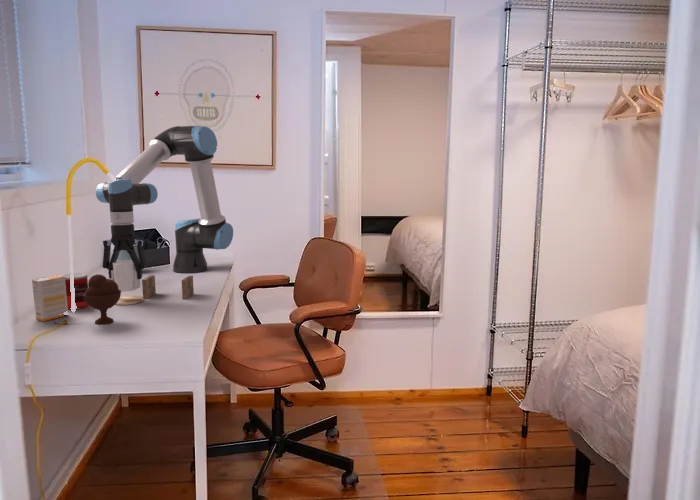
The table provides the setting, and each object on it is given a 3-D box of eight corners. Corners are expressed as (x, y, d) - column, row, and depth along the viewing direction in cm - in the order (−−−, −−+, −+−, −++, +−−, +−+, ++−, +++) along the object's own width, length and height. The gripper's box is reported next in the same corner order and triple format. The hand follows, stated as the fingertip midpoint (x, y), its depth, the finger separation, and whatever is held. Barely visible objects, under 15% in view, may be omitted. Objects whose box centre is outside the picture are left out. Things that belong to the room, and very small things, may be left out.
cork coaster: (119, 297, 201) (119, 295, 201) (148, 297, 201) (148, 296, 201) (104, 305, 190) (104, 303, 190) (135, 305, 190) (135, 303, 190)
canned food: (71, 303, 192) (68, 272, 190) (93, 304, 192) (91, 273, 190) (59, 309, 185) (56, 277, 183) (82, 309, 184) (80, 277, 183)
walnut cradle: (151, 293, 207) (150, 275, 206) (193, 293, 207) (192, 275, 205) (143, 298, 199) (141, 279, 198) (186, 299, 199) (185, 280, 198)
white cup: (142, 287, 198) (141, 260, 196) (129, 292, 190) (128, 264, 189) (123, 286, 199) (121, 259, 198) (109, 291, 192) (107, 263, 190)
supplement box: (61, 313, 180) (57, 274, 178) (68, 315, 178) (65, 276, 175) (34, 319, 174) (31, 278, 171) (42, 321, 171) (38, 280, 169)
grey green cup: (144, 270, 249) (142, 244, 247) (136, 275, 239) (134, 248, 237) (121, 270, 249) (119, 244, 247) (112, 275, 239) (111, 248, 237)
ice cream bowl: (84, 329, 164) (80, 280, 161) (86, 319, 174) (82, 272, 171) (123, 325, 168) (120, 277, 165) (122, 315, 178) (119, 270, 176)
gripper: (88, 224, 188) (92, 289, 192) (146, 225, 187) (150, 290, 191) (98, 222, 195) (103, 285, 199) (155, 222, 194) (158, 285, 198)
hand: (126, 287), depth 195 cm, fingers closed on white cup, 7 cm apart
